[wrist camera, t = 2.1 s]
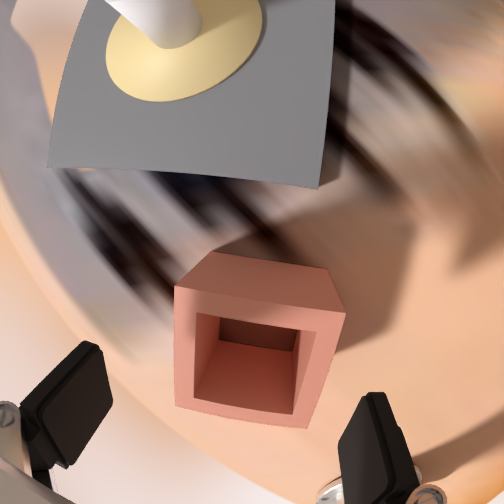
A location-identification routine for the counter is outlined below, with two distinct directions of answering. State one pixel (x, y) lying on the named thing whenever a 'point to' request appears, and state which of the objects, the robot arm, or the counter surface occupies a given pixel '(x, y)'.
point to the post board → (198, 88)
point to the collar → (251, 357)
